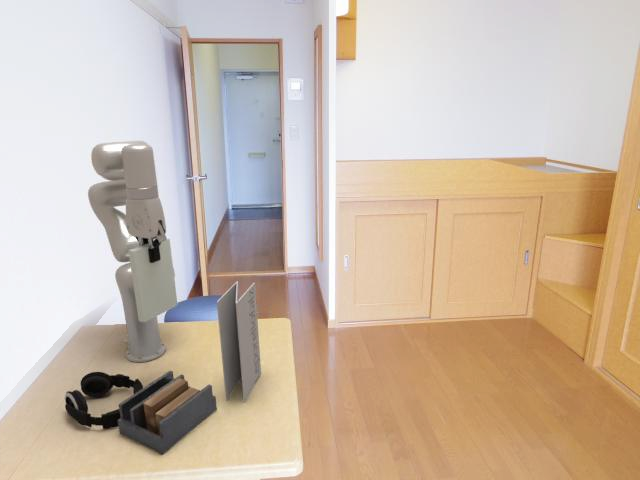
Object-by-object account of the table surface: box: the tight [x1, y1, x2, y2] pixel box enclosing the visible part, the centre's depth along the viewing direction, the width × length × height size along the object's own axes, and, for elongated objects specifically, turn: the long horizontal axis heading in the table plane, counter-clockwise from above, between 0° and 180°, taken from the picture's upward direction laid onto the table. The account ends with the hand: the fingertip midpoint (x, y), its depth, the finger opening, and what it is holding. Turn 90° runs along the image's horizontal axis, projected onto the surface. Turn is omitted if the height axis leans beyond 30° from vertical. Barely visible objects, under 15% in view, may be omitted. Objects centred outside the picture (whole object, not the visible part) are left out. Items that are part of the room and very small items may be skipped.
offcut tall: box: [143, 378, 189, 436], centre depth 120 cm, size 3×12×9 cm, turn 151°
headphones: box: [64, 371, 144, 430], centre depth 126 cm, size 18×8×20 cm
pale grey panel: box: [128, 238, 178, 322], centre depth 126 cm, size 2×12×20 cm, turn 150°
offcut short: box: [155, 386, 201, 436], centre depth 118 cm, size 3×12×8 cm, turn 151°
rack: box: [117, 370, 218, 455], centre depth 120 cm, size 15×19×8 cm
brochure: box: [216, 280, 262, 404], centre depth 131 cm, size 14×6×30 cm, turn 168°
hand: (151, 260), depth 125 cm, fingers closed on pale grey panel, 2 cm apart
